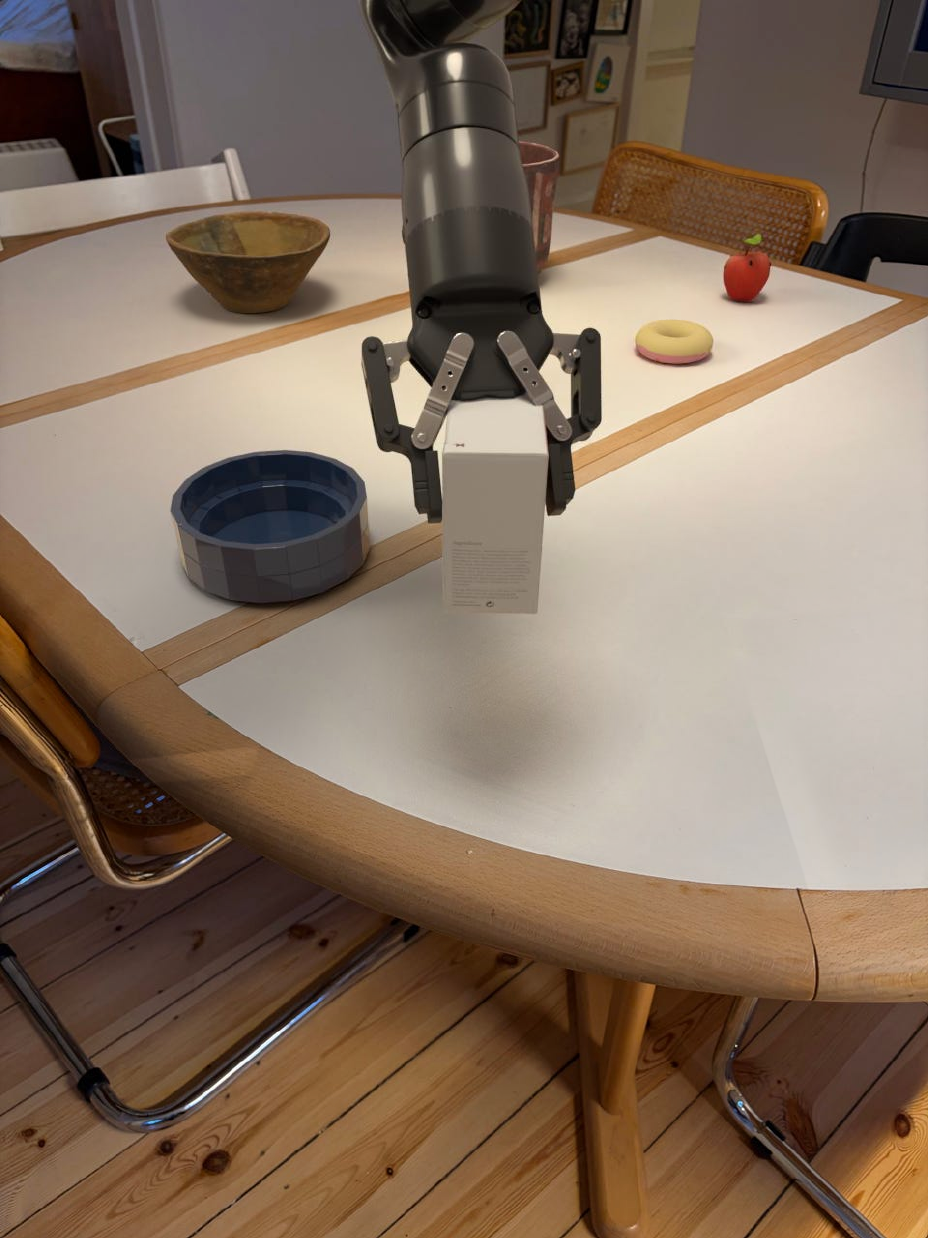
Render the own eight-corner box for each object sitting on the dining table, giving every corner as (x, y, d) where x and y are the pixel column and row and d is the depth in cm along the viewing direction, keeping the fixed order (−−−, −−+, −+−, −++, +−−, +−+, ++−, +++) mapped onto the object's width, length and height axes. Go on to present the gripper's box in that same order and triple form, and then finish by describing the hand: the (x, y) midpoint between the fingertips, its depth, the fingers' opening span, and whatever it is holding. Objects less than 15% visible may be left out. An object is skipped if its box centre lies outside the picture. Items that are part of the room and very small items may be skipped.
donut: (715, 378, 121) (688, 341, 127) (729, 346, 118) (701, 310, 124) (645, 373, 118) (622, 335, 124) (658, 340, 115) (633, 303, 121)
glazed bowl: (175, 616, 77) (162, 556, 73) (190, 511, 90) (179, 456, 86) (376, 599, 79) (373, 540, 75) (362, 499, 92) (359, 444, 88)
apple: (709, 293, 141) (721, 223, 134) (750, 289, 142) (763, 220, 136) (733, 310, 135) (747, 239, 129) (776, 307, 136) (791, 235, 130)
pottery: (490, 253, 155) (494, 133, 143) (573, 279, 145) (583, 152, 134) (412, 278, 144) (409, 150, 133) (496, 307, 135) (500, 172, 124)
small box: (537, 617, 54) (550, 455, 47) (440, 615, 54) (440, 452, 47) (533, 541, 60) (544, 388, 54) (446, 538, 60) (447, 385, 54)
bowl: (293, 268, 148) (287, 200, 142) (360, 312, 133) (356, 239, 126) (157, 292, 138) (144, 221, 132) (212, 342, 123) (200, 265, 117)
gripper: (344, 203, 50) (370, 509, 48) (605, 197, 52) (640, 491, 50) (345, 272, 57) (368, 539, 55) (573, 264, 59) (603, 523, 57)
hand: (497, 515), depth 53 cm, fingers closed on small box, 6 cm apart
